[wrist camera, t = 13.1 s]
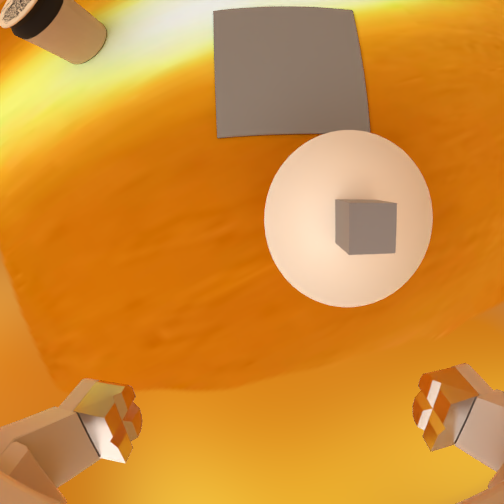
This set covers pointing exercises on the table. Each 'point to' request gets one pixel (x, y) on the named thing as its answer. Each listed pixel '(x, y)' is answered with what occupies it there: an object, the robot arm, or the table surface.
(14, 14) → the travel mug
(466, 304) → the table surface
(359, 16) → the table surface
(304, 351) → the table surface
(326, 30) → the mat
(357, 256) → the lid
